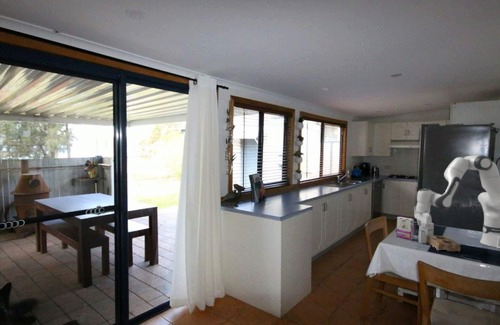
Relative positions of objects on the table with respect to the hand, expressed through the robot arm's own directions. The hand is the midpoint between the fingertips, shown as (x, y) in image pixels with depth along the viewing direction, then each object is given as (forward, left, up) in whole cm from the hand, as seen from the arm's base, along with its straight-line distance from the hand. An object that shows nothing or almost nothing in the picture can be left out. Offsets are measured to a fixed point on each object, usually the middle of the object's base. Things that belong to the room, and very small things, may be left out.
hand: (422, 227), depth 202 cm
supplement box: (-8, -12, -12) cm, 19 cm away
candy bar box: (+9, -9, -12) cm, 17 cm away
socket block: (-11, +6, -12) cm, 18 cm away
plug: (0, 0, -12) cm, 12 cm away
